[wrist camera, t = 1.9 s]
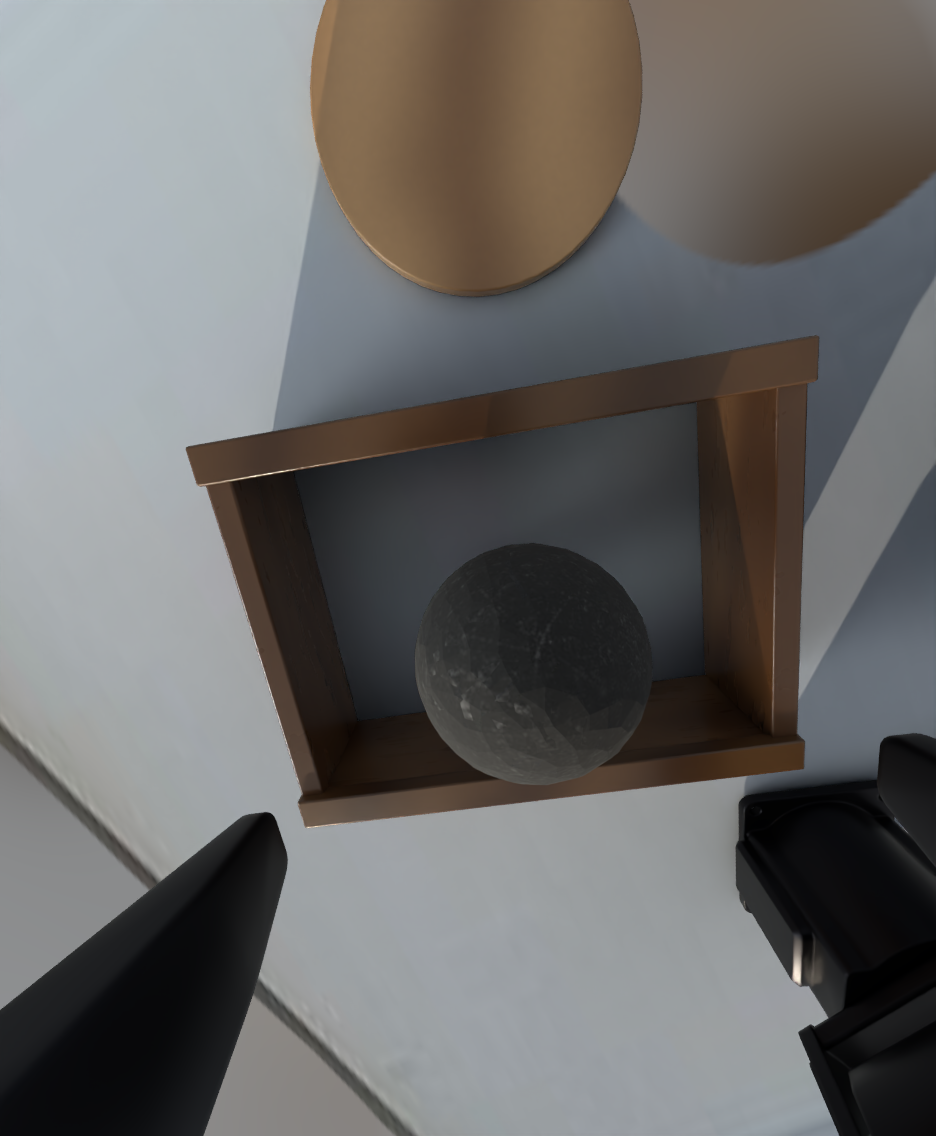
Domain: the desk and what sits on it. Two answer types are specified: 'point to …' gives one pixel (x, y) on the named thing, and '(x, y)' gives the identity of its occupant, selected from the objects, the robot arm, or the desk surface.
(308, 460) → the wooden cubby shelf
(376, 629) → the desk surface
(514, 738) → the light bulb
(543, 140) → the coaster
